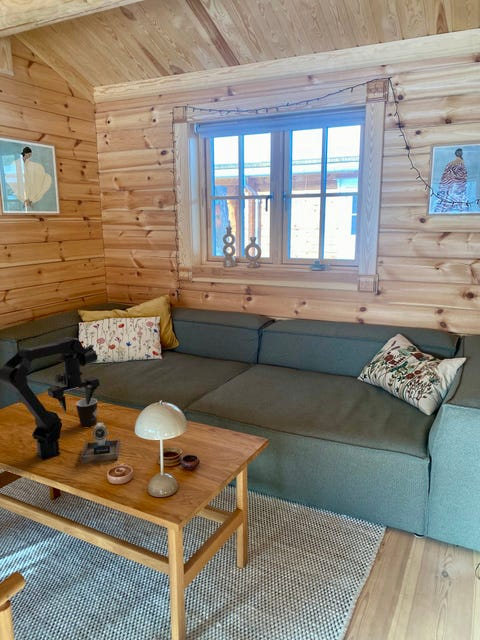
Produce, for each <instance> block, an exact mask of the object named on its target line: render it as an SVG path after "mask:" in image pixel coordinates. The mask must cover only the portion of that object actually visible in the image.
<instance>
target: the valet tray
mask: <svg viewBox="0 0 480 640" xmlns="http://www.w3.org/2000/svg"><path fill="white" fill-rule="evenodd" d="M109 440H110V453H108V454H97V455H94V442H96V440H94V441H85V443H84V446H83V449H82V450H81V451H82V452H81V454H80V464H82V465H83V464H95V463H104V462H115V461H118V460H119V455H120V451H121V446H122V443H121V439H120V438H116V439H107V440H105V441H109Z"/></svg>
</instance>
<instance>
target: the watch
mask: <svg viewBox="0 0 480 640" xmlns="http://www.w3.org/2000/svg"><path fill="white" fill-rule="evenodd" d="M108 434H109V431H108V430H107V428H106V426H105V425H104V422H97V424H96V425H95V426H94V429H93V431H92V436H93V438H94V441H96V442H94V455H97V454H108V453H110V440H111V439H108V440H109V441H105V440H106V438H107V435H108Z"/></svg>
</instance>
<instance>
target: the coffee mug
mask: <svg viewBox="0 0 480 640" xmlns="http://www.w3.org/2000/svg"><path fill="white" fill-rule="evenodd" d="M75 406H76V410H77V415H78V420H79V425H80V426H82V427H81V428H83V427H90V428H92V427H91V426H93V427H95V426H96V425H97V423H98V400H97V399H96V398H93V397H91V400H90V403H89V405H87V403H86V398H82V399H80V400H78V401H77V402H76V403H75ZM94 425H95V426H94Z"/></svg>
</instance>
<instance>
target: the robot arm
mask: <svg viewBox="0 0 480 640" xmlns="http://www.w3.org/2000/svg"><path fill="white" fill-rule="evenodd" d="M59 354H61V356H59V357H58V359H57V360H58V362H59V361H60V362H63V367H64V371H63V375H62V374H61V373H59V374H55V375H54V380H55V383H56V384H59V383H60V385H64V386H62V387H61V386H60V385H55V386H51V387H48V389H47V395H48V396H49V397H50V398H52V399H56V400H57V401H58V403H59V405H60V407H61V408H62V410H63V412H67V402H66V401H67V400H66V396H65V393H66V392H70V391H74V390H78V389H81V388H84V389H85V390H84V391H85V399H86V403H87V405H89V403H90V400H91V398H93V395H94V392H95V391H96V390H97V389H98V387H101V381H100V379H99V378H97V377H94V376H90V377H85V378H84V380H83V381H82V375H83V372H82V370H81V369H82V368H81V367H86V366H88V365H90V364H93V363H96V362H97V361H98V358H99V357H98V354H97V352H96V350H94V347H93V346H91V345H88V346H86V347H84V346H83V345H82V344H81V341H80V339H79V338H74V337H69V336H64V337H61V338H58V339H56V341H54V342H50V343H46V344H41V345H37V346H32V347H26V348H25V347H22V348H21V349H20V348H19V350H18V351H17V352H16V353H15V355H13V356H12V357H11V358H9V360H7V361H6V362H5V363H4V365H3V366H2V367H1V368H0V383H1V384H2V385H4V386H5V387H7V388H8V389H9V390H11V391H13V392H14V393H15V394H16V395H17V397H18V399H20V401H21V402H22V403H23V404H24V406H25V407H26V408H27V410H28V411H29V412H30V414H31V415H32V416H33V417H34V424H35V426H36V427H35V428H34V431H33V432H32V433H31V436H32V438H33V439H34V440H35V441H36V446H37V452H36V455H37V457H38V458H40V459H41V460H42V461H45V459H46V460H48V459H51V458H54V457H57V456H59V454H60V455H61V452H60V442H59V440H60V438H61V433H62V432H61V431H62V426H63V423H62V419H61V418H60V417H59V415H58V413H57V412H54V411H50V410H48V409H46V408H45V406H44V405H43V403H42V402H41V401H40V400H39V399H38V397H37V396H36V394H35V393H34V392H33V390H32V389H31V388H30V386H29V383H28V377H27V375H28V373H29V372H30V368H31V365H32V362H33V361H34V360H37V359H41V358H46V357H50V356H55V355H59ZM19 365H20V366H19ZM17 366H19V367H17Z"/></svg>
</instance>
